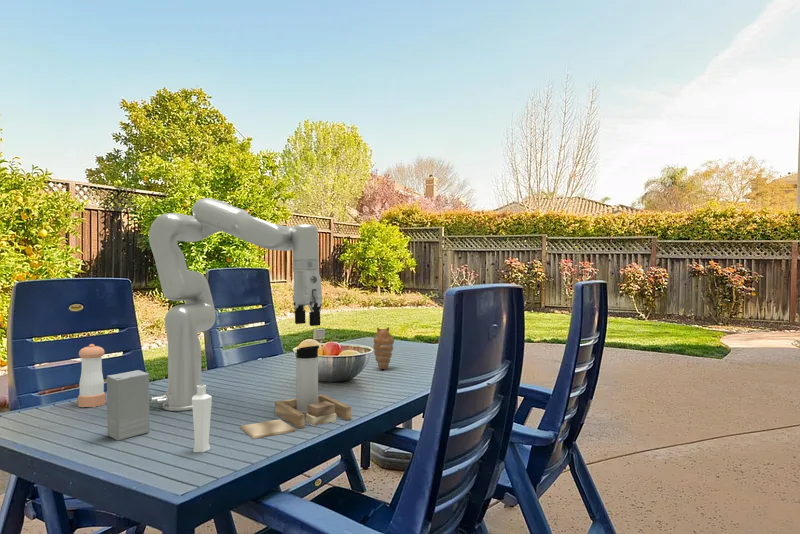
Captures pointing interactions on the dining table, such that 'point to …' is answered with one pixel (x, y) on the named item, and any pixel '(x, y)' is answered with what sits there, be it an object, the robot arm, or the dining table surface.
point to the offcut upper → (321, 409)
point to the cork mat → (267, 428)
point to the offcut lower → (320, 419)
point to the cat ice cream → (383, 347)
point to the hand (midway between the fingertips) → (307, 324)
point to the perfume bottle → (201, 418)
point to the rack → (296, 418)
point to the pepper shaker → (91, 377)
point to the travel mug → (306, 378)
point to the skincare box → (127, 404)
